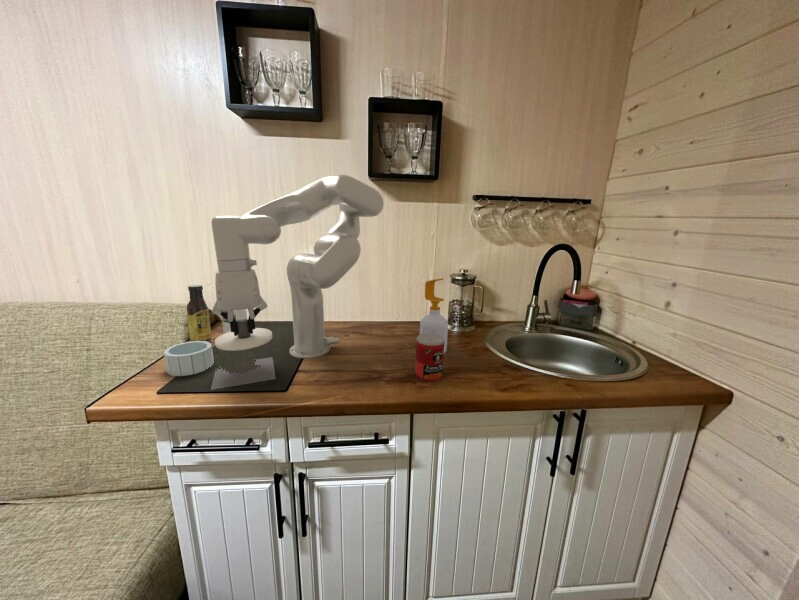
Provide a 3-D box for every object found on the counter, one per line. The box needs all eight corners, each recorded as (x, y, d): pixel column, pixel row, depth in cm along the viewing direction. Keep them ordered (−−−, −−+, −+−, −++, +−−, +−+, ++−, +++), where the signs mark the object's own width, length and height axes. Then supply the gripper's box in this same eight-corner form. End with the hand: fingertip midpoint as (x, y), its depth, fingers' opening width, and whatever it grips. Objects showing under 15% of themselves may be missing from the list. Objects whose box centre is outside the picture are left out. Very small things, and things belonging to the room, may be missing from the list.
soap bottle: (433, 358, 100) (437, 281, 94) (413, 349, 107) (416, 277, 101) (452, 351, 106) (456, 278, 100) (432, 343, 113) (435, 274, 107)
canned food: (424, 384, 84) (426, 345, 81) (409, 371, 91) (411, 335, 88) (448, 378, 87) (450, 340, 85) (432, 366, 94) (434, 331, 92)
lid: (270, 328, 95) (268, 310, 94) (274, 345, 83) (271, 325, 81) (217, 335, 90) (214, 316, 88) (212, 354, 77) (209, 333, 76)
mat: (272, 358, 98) (272, 357, 97) (275, 380, 84) (275, 378, 84) (216, 366, 92) (216, 365, 91) (210, 391, 78) (210, 389, 78)
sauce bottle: (202, 347, 105) (194, 288, 100) (186, 345, 106) (177, 287, 102) (216, 340, 111) (210, 284, 107) (201, 338, 112) (194, 283, 108)
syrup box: (223, 342, 109) (219, 302, 106) (238, 337, 114) (234, 298, 111) (236, 345, 107) (231, 304, 103) (250, 339, 112) (246, 300, 109)
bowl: (215, 357, 97) (213, 339, 96) (211, 372, 88) (208, 352, 86) (172, 363, 93) (169, 344, 91) (163, 379, 83) (159, 358, 82)
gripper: (268, 261, 88) (275, 324, 92) (199, 265, 81) (210, 333, 86) (269, 265, 81) (277, 333, 86) (194, 270, 74) (207, 343, 79)
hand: (243, 332), depth 86 cm, fingers closed on lid, 3 cm apart
